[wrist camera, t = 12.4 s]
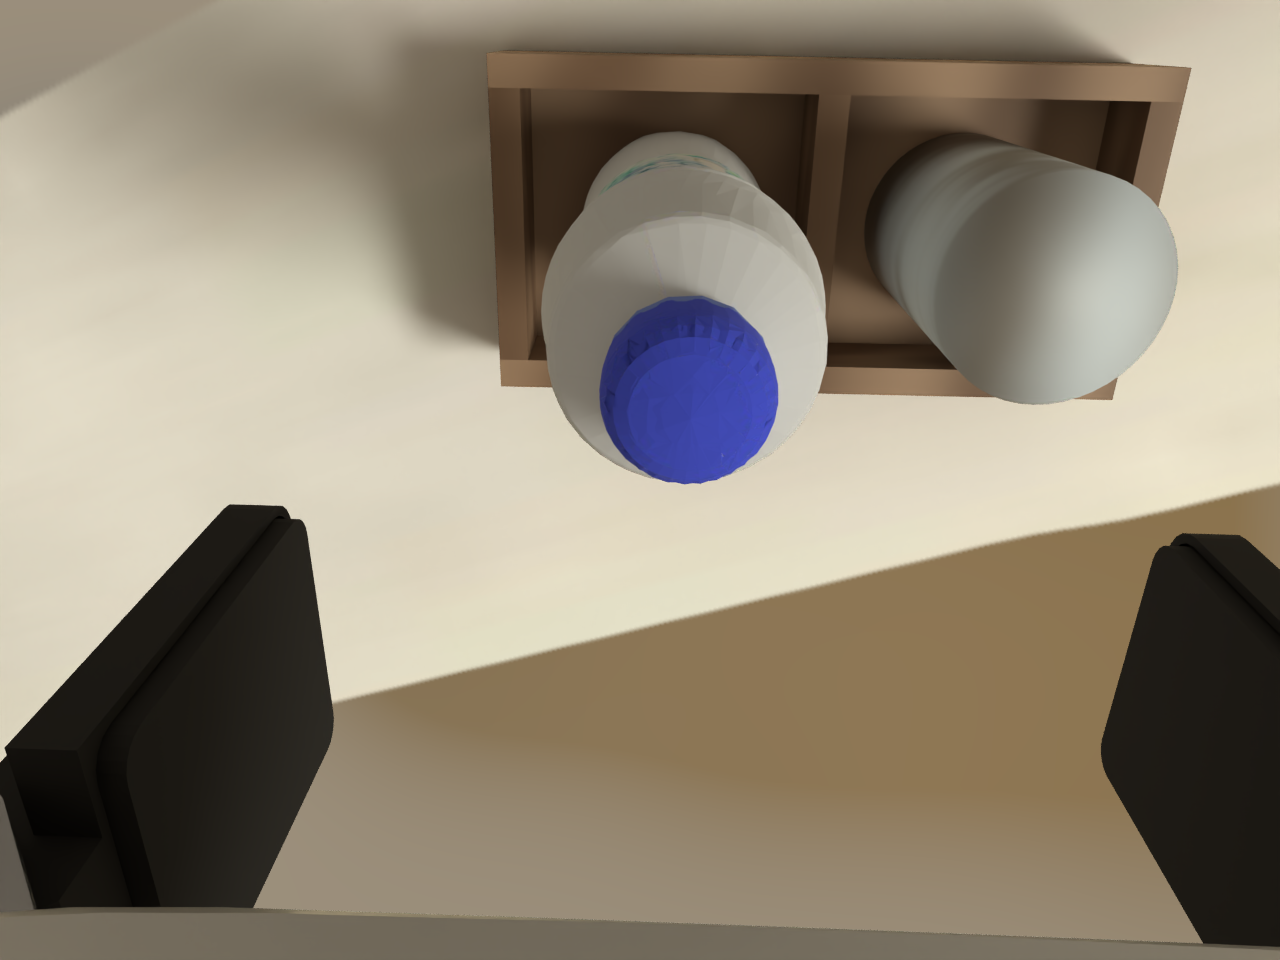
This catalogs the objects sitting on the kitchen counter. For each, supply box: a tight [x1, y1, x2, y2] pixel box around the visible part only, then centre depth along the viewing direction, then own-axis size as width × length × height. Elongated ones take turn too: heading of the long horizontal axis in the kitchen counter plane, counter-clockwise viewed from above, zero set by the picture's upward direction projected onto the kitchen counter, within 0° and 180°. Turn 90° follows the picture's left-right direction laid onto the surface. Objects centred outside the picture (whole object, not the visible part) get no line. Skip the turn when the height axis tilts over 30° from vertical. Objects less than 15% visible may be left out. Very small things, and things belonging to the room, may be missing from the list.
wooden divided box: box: [487, 51, 1191, 405], centre depth 31 cm, size 22×11×11 cm, turn 89°
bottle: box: [541, 131, 828, 484], centre depth 26 cm, size 7×7×20 cm
